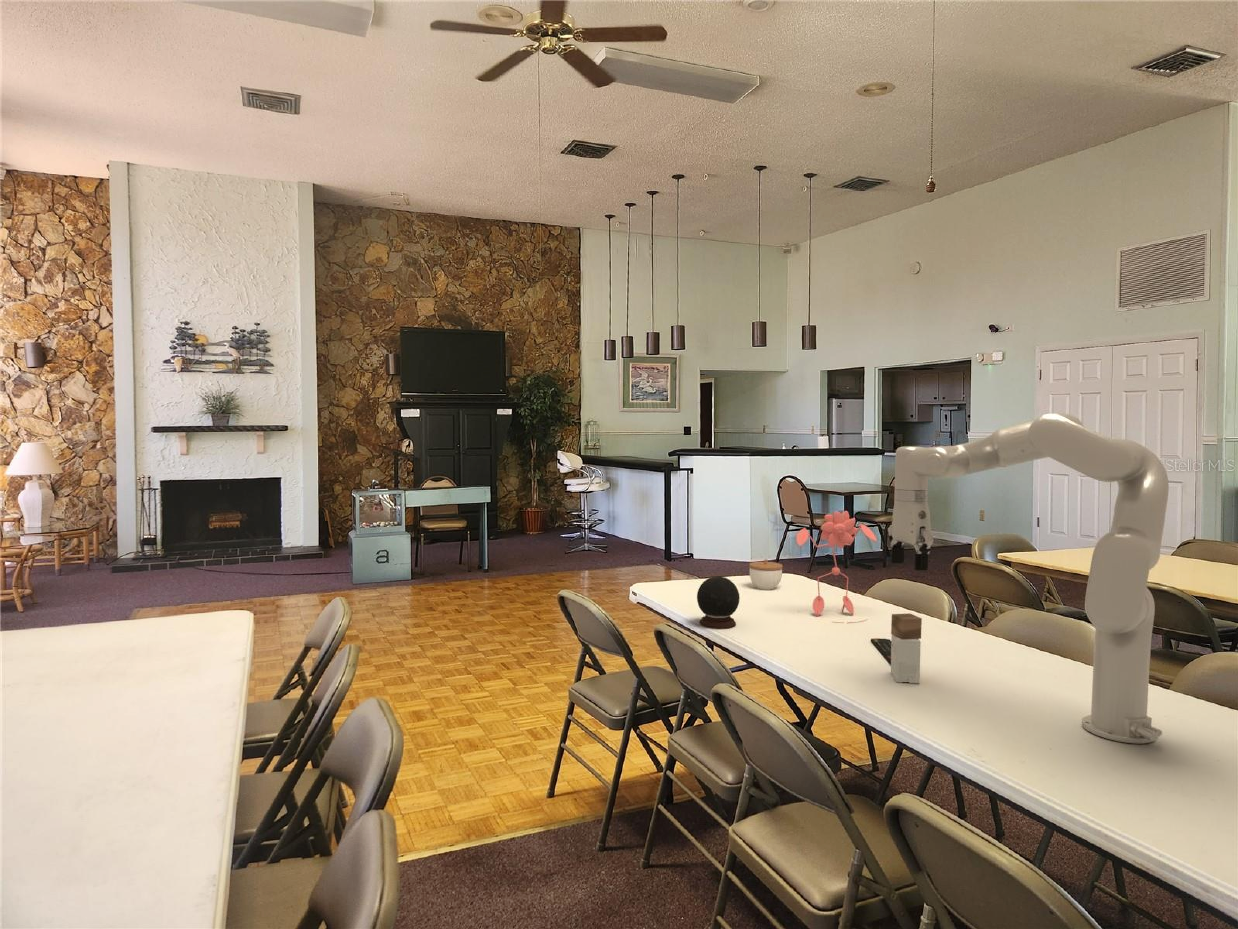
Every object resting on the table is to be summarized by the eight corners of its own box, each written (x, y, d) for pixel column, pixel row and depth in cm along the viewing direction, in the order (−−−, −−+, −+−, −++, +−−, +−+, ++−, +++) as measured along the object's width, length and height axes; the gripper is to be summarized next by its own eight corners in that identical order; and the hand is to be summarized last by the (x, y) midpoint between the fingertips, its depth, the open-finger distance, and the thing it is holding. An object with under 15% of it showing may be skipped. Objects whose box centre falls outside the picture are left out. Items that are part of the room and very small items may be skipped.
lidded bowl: (763, 583, 298) (763, 555, 298) (788, 588, 289) (789, 560, 288) (741, 587, 290) (742, 558, 290) (767, 593, 281) (768, 563, 280)
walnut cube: (921, 638, 184) (921, 618, 184) (902, 639, 183) (903, 619, 183) (909, 633, 189) (909, 613, 189) (891, 634, 188) (891, 614, 188)
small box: (919, 684, 182) (921, 641, 181) (895, 682, 183) (896, 640, 183) (913, 674, 190) (914, 632, 189) (890, 672, 191) (891, 631, 190)
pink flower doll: (790, 611, 252) (794, 507, 250) (864, 611, 255) (869, 508, 252) (805, 624, 237) (810, 514, 234) (884, 624, 239) (889, 514, 237)
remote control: (891, 669, 195) (892, 664, 195) (870, 642, 219) (870, 638, 219) (913, 670, 194) (913, 664, 194) (889, 643, 218) (889, 638, 218)
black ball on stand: (699, 630, 228) (700, 580, 228) (693, 618, 241) (694, 572, 241) (742, 630, 229) (743, 581, 228) (734, 619, 242) (735, 572, 241)
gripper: (946, 500, 177) (944, 572, 177) (903, 493, 193) (902, 560, 194) (918, 500, 175) (916, 573, 176) (877, 494, 192) (875, 560, 193)
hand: (908, 566), depth 185 cm, fingers open, 9 cm apart
